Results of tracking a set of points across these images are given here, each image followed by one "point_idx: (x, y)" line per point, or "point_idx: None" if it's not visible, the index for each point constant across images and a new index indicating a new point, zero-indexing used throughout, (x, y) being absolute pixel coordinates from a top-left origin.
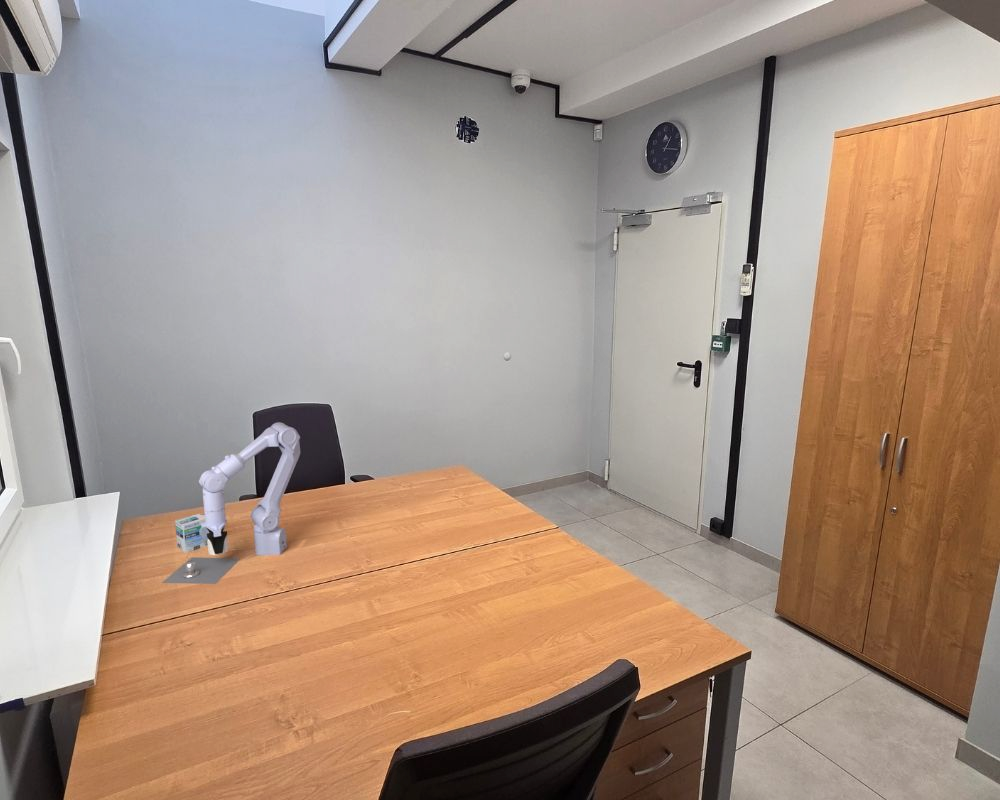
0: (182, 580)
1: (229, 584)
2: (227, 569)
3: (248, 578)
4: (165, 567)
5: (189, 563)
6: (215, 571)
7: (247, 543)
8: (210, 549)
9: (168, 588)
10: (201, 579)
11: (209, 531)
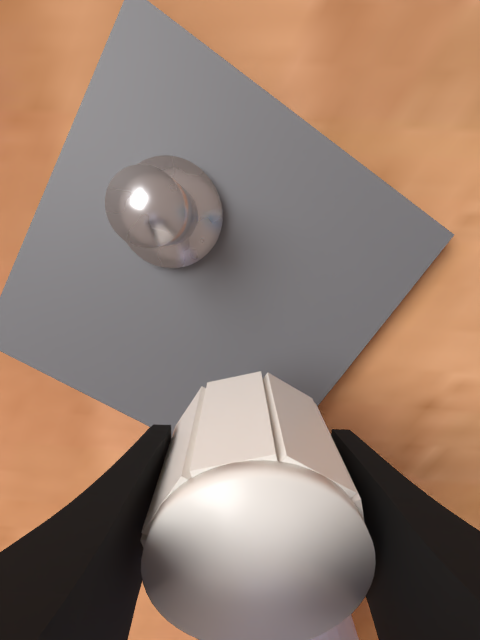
0: (104, 152)
1: (6, 396)
2: (148, 412)
3: (42, 475)
4: (443, 46)
5: (124, 200)
6: (150, 354)
7: (455, 512)
8: (202, 414)
9: (80, 56)
10: (71, 271)
11: (449, 583)
